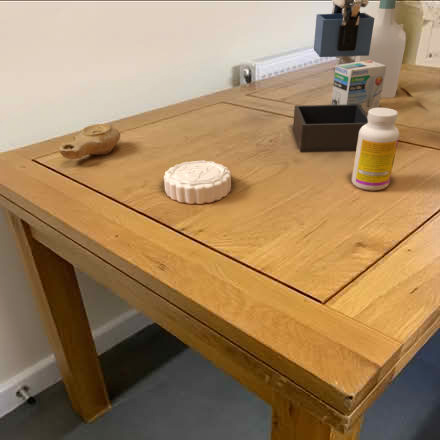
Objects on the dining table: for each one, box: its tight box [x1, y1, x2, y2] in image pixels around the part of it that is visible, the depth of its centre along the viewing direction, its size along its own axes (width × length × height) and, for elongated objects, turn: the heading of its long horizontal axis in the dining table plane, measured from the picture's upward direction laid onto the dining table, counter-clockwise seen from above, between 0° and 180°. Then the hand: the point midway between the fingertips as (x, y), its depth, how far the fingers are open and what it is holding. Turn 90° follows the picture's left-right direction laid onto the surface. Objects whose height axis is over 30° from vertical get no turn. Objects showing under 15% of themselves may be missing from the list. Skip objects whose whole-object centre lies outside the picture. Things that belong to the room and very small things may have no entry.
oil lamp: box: [58, 123, 121, 160], centre depth 98 cm, size 11×14×5 cm
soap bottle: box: [355, 0, 407, 99], centre depth 121 cm, size 11×8×27 cm
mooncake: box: [163, 159, 232, 205], centre depth 84 cm, size 12×12×4 cm
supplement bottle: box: [351, 107, 400, 191], centre depth 81 cm, size 7×7×13 cm
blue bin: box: [313, 12, 376, 58], centre depth 86 cm, size 9×7×6 cm
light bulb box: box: [330, 60, 386, 114], centre depth 116 cm, size 11×7×11 cm, turn 114°
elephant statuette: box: [335, 56, 356, 65], centre depth 147 cm, size 9×12×8 cm
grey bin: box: [292, 104, 368, 153], centre depth 101 cm, size 15×14×6 cm
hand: (341, 45), depth 88 cm, fingers closed on blue bin, 7 cm apart
